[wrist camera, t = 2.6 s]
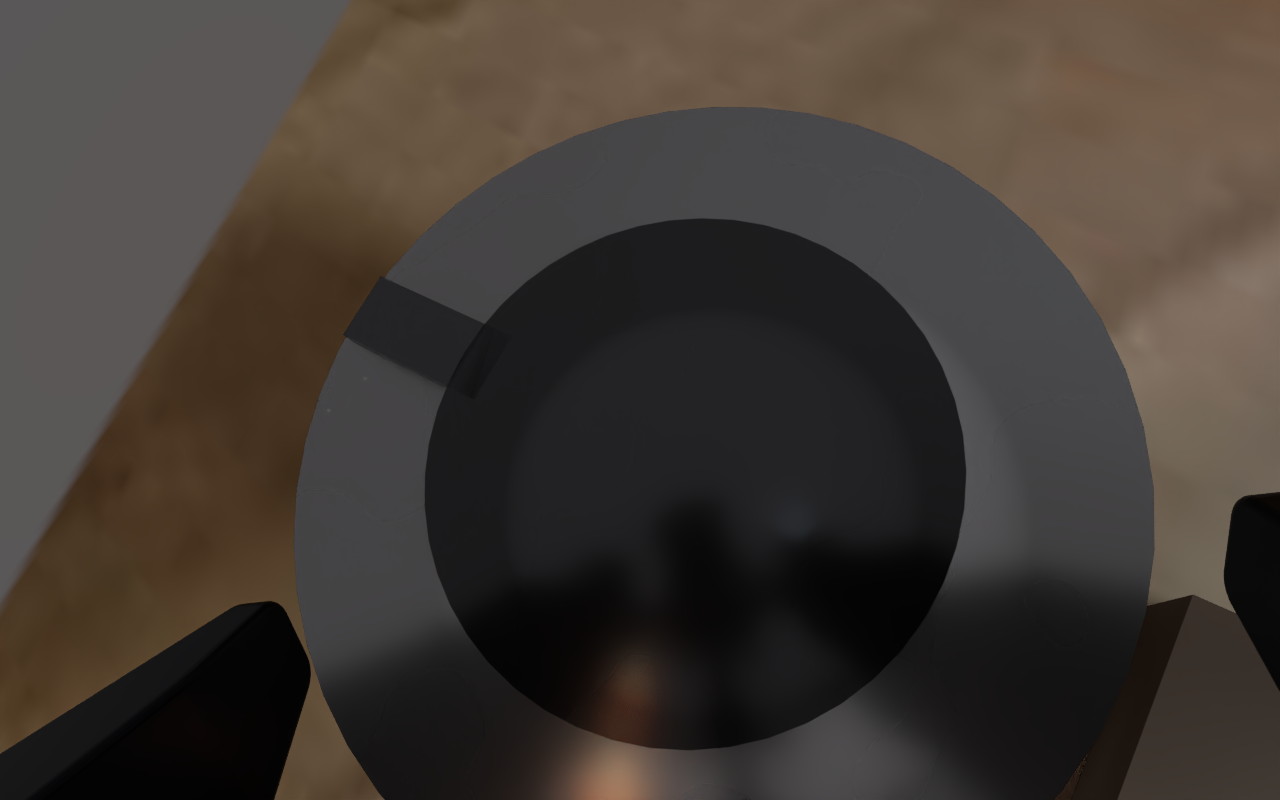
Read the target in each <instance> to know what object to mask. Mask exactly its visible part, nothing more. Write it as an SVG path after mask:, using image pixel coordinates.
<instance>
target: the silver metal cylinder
mask: <svg viewBox="0 0 1280 800" xmlns="http://www.w3.org/2000/svg"><path fill="white" fill-rule="evenodd" d="M343 335H344V336H346V338H345V340H344V342H343V344H342V345H341V347H340V349H339V351H338V353H337V355H336V358H335V360H334V362H333V365H332V367H331V369H330V372H329V374H328V376H327V379H326V381H325V383H324V386H323V388H322V390H321V393H320V395H319V398H318V402H317V405H316V408H315V412H314V415H313V418H312V422H311V425H310V428H309V431H308V435H307V438H306V442H305V447H304V453H303V458H302V464H301V469H300V475H299V480H298V486H297V495H296V511H295V528H294V552H295V569H296V585H297V595H298V600H299V606H300V611H301V616H302V621H303V627H304V632H305V637H306V643H307V646H308V649H309V652H310V655H311V658H312V662H313V665H314V668H315V671H316V674H317V677H318V680H319V683H320V686H321V689H322V692H323V695H324V697H325V699H326V702H327V704H328V706H329V708H330V710H331V712H332V714H333V716H334V718H335V720H336V722H337V724H338V727H339V729H340V731H341V733H342V735H343V737H344V739H345V741H346V743H347V745H348V747H349V748H350V750H351V751H352V753H353V754H354V756H355V757H356V759H357V760H358V762H359V763H360V765H361V767H362V768H363V770H364V771H365V773H366V774H367V776H368V777H369V779H370V780H371V782H372V783H373V785H374V786H375V788H376V789H377V791H378V792H379V794H380V795H381V796H382V797H383V798H384V799H385V800H1054V799H1055V798H1056V797H1057V795H1058V794H1059V793H1060V792H1061V791H1062V790H1063V788H1064V787H1065V785H1066V784H1067V782H1068V781H1069V779H1070V778H1071V776H1072V775H1073V773H1074V772H1075V770H1076V769H1077V767H1078V766H1079V764H1080V763H1081V761H1082V760H1083V758H1084V757H1085V756H1086V754H1087V753H1088V751H1089V750H1090V748H1091V747H1092V745H1093V744H1094V742H1095V741H1096V739H1097V738H1098V736H1099V735H1100V732H1101V730H1102V728H1103V726H1104V724H1105V722H1106V720H1107V718H1108V715H1109V713H1110V711H1111V709H1112V707H1113V705H1114V703H1115V701H1116V698H1117V696H1118V694H1119V692H1120V690H1121V688H1122V686H1123V683H1124V681H1125V679H1126V677H1127V675H1128V672H1129V668H1130V665H1131V661H1132V658H1133V655H1134V651H1135V648H1136V644H1137V641H1138V638H1139V634H1140V631H1141V627H1142V624H1143V620H1144V617H1145V614H1146V608H1147V600H1148V593H1149V586H1150V578H1151V571H1152V563H1153V556H1154V489H1153V481H1152V475H1151V469H1150V463H1149V456H1148V450H1147V444H1146V438H1145V432H1144V426H1143V423H1142V420H1141V417H1140V414H1139V411H1138V407H1137V404H1136V401H1135V398H1134V395H1133V392H1132V388H1131V385H1130V382H1129V379H1128V376H1127V373H1126V370H1125V368H1124V366H1123V364H1122V362H1121V359H1120V357H1119V355H1118V353H1117V351H1116V349H1115V347H1114V345H1113V343H1112V341H1111V339H1110V337H1109V334H1108V332H1107V330H1106V328H1105V326H1104V324H1103V322H1102V320H1101V318H1100V316H1099V315H1098V313H1097V312H1096V310H1095V309H1094V307H1093V306H1092V304H1091V303H1090V301H1089V300H1088V298H1087V297H1086V295H1085V294H1084V292H1083V291H1082V289H1081V288H1080V286H1079V285H1078V283H1077V282H1076V280H1075V279H1074V277H1073V276H1072V274H1071V273H1070V271H1069V270H1068V269H1067V268H1066V267H1065V266H1064V264H1063V263H1062V262H1061V261H1060V260H1059V259H1058V258H1057V256H1056V255H1055V254H1054V253H1053V252H1052V251H1051V250H1050V248H1049V247H1048V246H1047V245H1046V244H1045V243H1044V242H1043V240H1042V239H1041V238H1040V237H1039V236H1038V235H1037V234H1036V232H1035V231H1034V230H1033V229H1032V228H1030V227H1029V226H1028V225H1027V224H1026V223H1025V222H1024V221H1022V220H1021V219H1020V218H1019V217H1018V216H1017V215H1016V214H1015V213H1013V212H1012V211H1011V210H1010V209H1009V208H1008V207H1007V206H1005V205H1004V204H1003V203H1002V202H1001V201H1000V200H999V199H998V198H996V197H995V196H994V195H993V194H991V193H990V192H988V191H987V190H985V189H984V188H982V187H981V186H979V185H978V184H976V183H975V182H974V181H972V180H971V179H969V178H968V177H966V176H965V175H963V174H962V173H960V172H959V171H957V170H956V169H954V168H953V167H951V166H950V165H948V164H946V163H944V162H942V161H940V160H938V159H936V158H934V157H932V156H930V155H928V154H926V153H924V152H922V151H920V150H918V149H917V148H915V147H913V146H911V145H909V144H907V143H905V142H902V141H899V140H897V139H894V138H891V137H888V136H886V135H883V134H880V133H878V132H875V131H872V130H870V129H867V128H864V127H861V126H859V125H855V124H851V123H847V122H842V121H838V120H834V119H830V118H826V117H822V116H818V115H814V114H809V113H801V112H793V111H785V110H777V109H769V108H747V107H710V108H699V109H689V110H679V111H668V112H663V113H658V114H653V115H648V116H644V117H639V118H634V119H629V120H624V121H620V122H617V123H614V124H611V125H607V126H604V127H601V128H598V129H595V130H592V131H589V132H586V133H583V134H579V135H576V136H574V137H572V138H570V139H567V140H565V141H563V142H560V143H558V144H556V145H554V146H551V147H549V148H547V149H545V150H542V151H540V152H538V153H536V154H533V155H532V156H530V157H528V158H526V159H525V160H523V161H521V162H520V163H518V164H516V165H514V166H513V167H511V168H509V169H507V170H506V171H504V172H502V173H500V174H499V175H497V176H495V177H493V178H492V179H491V180H489V181H488V182H487V183H485V184H484V185H482V186H481V187H480V188H478V189H477V190H475V191H474V192H473V193H471V194H470V195H469V196H467V197H466V198H464V199H463V200H462V201H460V202H459V203H457V204H456V205H455V206H454V207H453V208H452V209H450V210H449V211H448V212H447V213H446V214H445V215H444V216H443V217H442V218H440V219H439V220H438V221H437V222H436V223H435V224H434V225H433V226H432V227H430V228H429V229H428V230H427V231H426V232H425V233H424V234H423V235H422V236H421V237H420V238H419V239H418V240H417V241H416V242H415V243H414V244H413V245H412V247H411V248H410V249H409V250H408V251H407V252H406V253H405V254H404V255H403V257H402V258H401V259H400V260H399V261H398V262H397V263H396V264H395V265H394V267H393V268H392V269H391V270H390V271H389V273H388V274H387V275H386V277H385V278H383V277H380V279H379V280H378V282H377V283H376V285H375V286H374V288H373V289H372V291H371V292H370V294H369V296H368V297H367V299H366V300H365V302H364V303H363V305H362V306H361V308H360V310H359V311H358V313H357V314H356V316H355V317H354V319H353V320H352V322H351V324H350V325H349V327H348V328H347V330H346V331H345V333H344V334H343Z"/></svg>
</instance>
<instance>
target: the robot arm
mask: <svg viewBox="0 0 1280 800" xmlns="http://www.w3.org/2000/svg"><path fill="white" fill-rule="evenodd" d="M1224 584H1225V588H1226V592H1227V595H1228V598H1229V600H1230V602H1231V604H1232V606H1233V608H1234V610H1235V612H1236V614H1237V615H1238V617H1239V619H1240V621H1241V623H1242V624H1243V626H1244V628H1245V630H1246V632H1247V633H1248V635H1249V637H1250V639H1251V641H1252V643H1253V644H1254V646H1255V648H1256V650H1257V652H1258V653H1259V655H1260V657H1261V659H1262V661H1263V663H1264V664H1265V666H1266V668H1267V670H1268V672H1269V673H1270V675H1271V677H1272V679H1273V681H1274V683H1275V684H1276V686H1277V688H1278V690H1279V692H1280V492H1275V493H1266V494H1257V495H1248V496H1244V497H1242V498H1241V499H1239V500H1238V501H1237V502H1236V503H1235V505H1234V507H1233V510H1232V514H1231V521H1230V528H1229V536H1228V544H1227V551H1226V559H1225V567H1224ZM310 677H311V670H310V663H309V660H308V657H307V655H306V653H305V651H304V648H303V646H302V644H301V642H300V640H299V638H298V636H297V634H296V632H295V630H294V628H293V625H292V623H291V621H290V619H289V617H288V615H287V613H286V611H285V610H284V608H283V607H282V606H281V605H279V604H278V603H276V602H272V601H266V602H256V603H247V604H240V605H237V606H234V607H232V608H231V609H229V610H227V611H226V612H224V613H223V614H221V615H219V616H218V617H216V618H215V619H213V620H212V621H210V622H208V623H207V624H205V625H204V626H202V627H200V628H199V629H197V630H196V631H194V632H193V633H191V634H189V635H188V636H186V637H185V638H183V639H181V640H180V641H178V642H177V643H175V644H174V645H172V646H170V647H169V648H167V649H166V650H164V651H162V652H161V653H159V654H158V655H156V656H155V657H153V658H151V659H150V660H148V661H147V662H145V663H143V664H142V665H140V666H139V667H137V668H136V669H134V670H132V671H131V672H129V673H128V674H126V675H124V676H123V677H121V678H120V679H118V680H117V681H115V682H113V683H112V684H110V685H109V686H107V687H105V688H104V689H102V690H101V691H99V692H97V693H96V694H94V695H93V696H91V697H90V698H88V699H86V700H85V701H83V702H82V703H80V704H78V705H77V706H75V707H74V708H72V709H71V710H69V711H67V712H66V713H64V714H63V715H61V716H59V717H58V718H56V719H55V720H53V721H52V722H50V723H48V724H47V725H45V726H44V727H42V728H40V729H39V730H37V731H36V732H34V733H33V734H31V735H29V736H28V737H26V738H25V739H23V740H21V741H20V742H18V743H17V744H15V745H14V746H12V747H10V748H9V749H7V750H6V751H4V752H2V753H1V754H0V800H274V799H275V795H276V792H277V789H278V786H279V782H280V779H281V776H282V773H283V769H284V766H285V763H286V760H287V756H288V753H289V750H290V747H291V743H292V740H293V737H294V734H295V730H296V727H297V724H298V721H299V718H300V714H301V711H302V708H303V705H304V701H305V698H306V695H307V692H308V688H309V684H310Z"/></svg>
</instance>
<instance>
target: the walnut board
mask: <svg viewBox="0 0 1280 800" xmlns="http://www.w3.org/2000/svg"><path fill="white" fill-rule="evenodd" d="M1071 800H1280V692H1279V690H1278V688H1277V686H1276V684H1275V683H1274V681H1273V679H1272V677H1271V675H1270V673H1269V672H1268V670H1267V668H1266V666H1265V664H1264V663H1263V661H1262V659H1261V657H1260V655H1259V653H1258V652H1257V650H1256V648H1255V646H1254V644H1253V643H1252V641H1251V639H1250V637H1249V635H1248V633H1247V632H1246V630H1245V628H1244V626H1243V624H1242V623H1241V621H1240V619H1239V617H1238V615H1237V614H1236V613H1233V612H1231V611H1229V610H1227V609H1224V608H1222V607H1220V606H1218V605H1215V604H1213V603H1211V602H1208V601H1206V600H1204V599H1202V598H1199V597H1197V596H1195V595H1190V596H1186V597H1182V598H1178V599H1174V600H1170V601H1166V602H1162V603H1158V604H1154V605H1150V606H1147V608H1146V614H1145V617H1144V620H1143V624H1142V627H1141V631H1140V634H1139V638H1138V641H1137V644H1136V648H1135V651H1134V655H1133V658H1132V661H1131V665H1130V668H1129V672H1128V675H1127V677H1126V679H1125V681H1124V683H1123V686H1122V688H1121V690H1120V692H1119V694H1118V696H1117V698H1116V701H1115V703H1114V705H1113V707H1112V709H1111V711H1110V713H1109V715H1108V718H1107V720H1106V722H1105V724H1104V726H1103V728H1102V730H1101V732H1100V735H1099V736H1098V738H1097V739H1096V741H1095V742H1094V744H1093V745H1092V747H1091V749H1090V752H1089V755H1088V757H1087V760H1086V762H1085V765H1084V768H1083V770H1082V773H1081V776H1080V778H1079V781H1078V783H1077V786H1076V789H1075V791H1074V794H1073V797H1072V799H1071Z"/></svg>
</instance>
